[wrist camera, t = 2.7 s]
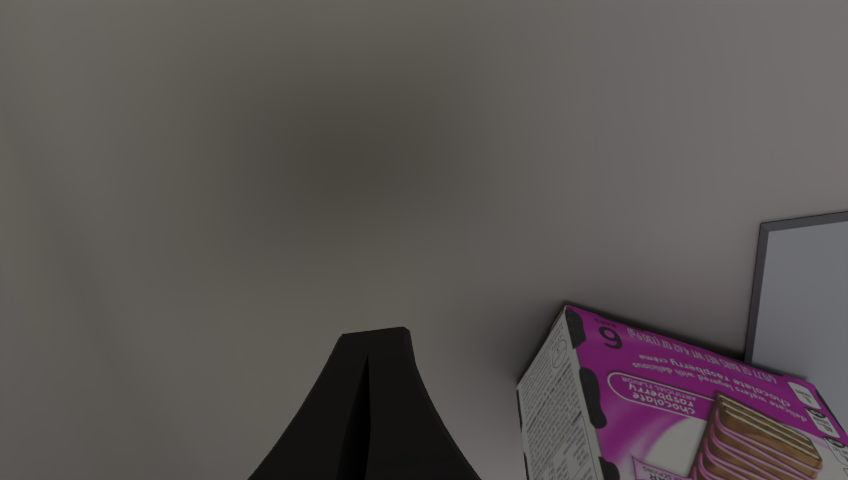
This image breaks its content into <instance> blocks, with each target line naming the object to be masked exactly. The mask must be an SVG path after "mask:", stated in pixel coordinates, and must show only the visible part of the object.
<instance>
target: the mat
mask: <svg viewBox="0 0 848 480" xmlns="http://www.w3.org/2000/svg"><path fill="white" fill-rule="evenodd" d="M744 362H746V363H749V364H752V365H755V366H759V367H762V368H765V369H768V370H771V371H774V372H777V373H780V374H784V375H787V376H790V377H793V378H796V379H800V380H803V381H806V382H809V383H812V384H813V385H815V387H816V389H817V390H818V392H819V393H820V395H821V396H822V398H823V399H824V401H825V402H826V404H827V405H828V407H829V408H830V410H831V411H832V413H833V414H834V415H835V417H836V419H837V420H838V422H839V423H840V425H841V426H842V428H843V429H844V431H845V432H846V434H847V435H848V212H843V213H836V214H829V215H821V216H814V217H807V218H799V219H792V220H785V221H777V222H770V223H763V224H761V229H760V237H759V245H758V253H757V261H756V269H755V277H754V285H753V293H752V301H751V309H750V317H749V326H748V334H747V342H746V350H745V358H744Z"/></svg>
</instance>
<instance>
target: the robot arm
mask: <svg viewBox="0 0 848 480" xmlns="http://www.w3.org/2000/svg"><path fill="white" fill-rule="evenodd" d="M248 480H481V479H480V477H479V476H478V475H477V473H476V472H475V471H474V469H473V468H472V466H471V465H470V464H469V462H468V461H467V460H466V458H465V457H464V455H463V454H462V452H461V451H460V449H459V448H458V446H457V445H456V443H455V442H454V440H453V439H452V437H451V435H450V434H449V432H448V430H447V429H446V427H445V425H444V423H443V422H442V420H441V418H440V416H439V414H438V413H437V411H436V409H435V407H434V405H433V403H432V401H431V399H430V397H429V395H428V393H427V390H426V388H425V386H424V384H423V381H422V379H421V377H420V374H419V372H418V369H417V366H416V363H415V357H414V352H413V346H412V341H411V335H410V331H409V330H408V329H406V328H405V327H395V328H387V329H379V330H371V331H363V332H355V333H347V334H342V336H341V337H340V338H339V339H338V341H337V343H336V345H335V347H334V349H333V351H332V353H331V355H330V357H329V359H328V361H327V363H326V365H325V366H324V368H323V370H322V372H321V374H320V375H319V377H318V379H317V381H316V383H315V384H314V386H313V388H312V389H311V391H310V393H309V394H308V396H307V398H306V399H305V401H304V403H303V404H302V406H301V408H300V409H299V411H298V412H297V414H296V415H295V417H294V418H293V420H292V421H291V423H290V424H289V426H288V427H287V428H286V430H285V431H284V433H283V434H282V436H281V437H280V439H279V440H278V442H277V443H276V444H275V446H274V447H273V448H272V450H271V451H270V452H269V454H268V455H267V456H266V458H265V459H264V460H263V461H262V463H261V464H260V465H259V466H258V468H257V469H256V470H255V471H254V473H253V474H252V475H251V476H250V477H249V479H248Z"/></svg>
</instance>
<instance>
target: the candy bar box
mask: <svg viewBox="0 0 848 480" xmlns="http://www.w3.org/2000/svg"><path fill="white" fill-rule="evenodd" d="M516 392H517V402H518V410H519V418H520V427H521V433H522V443H523V452H524V460H525V468H526V476H527V480H848V435H847V434H846V432H845V431H844V429H843V428H842V426H841V425H840V423H839V422H838V420H837V419H836V417H835V415H834V414H833V413H832V411H831V410H830V408H829V407H828V405H827V404H826V402H825V401H824V399H823V398H822V396H821V395H820V393H819V392H818V390H817V389H816V387H815V385H813V384H812V383H809V382H806V381H803V380H800V379H796V378H793V377H790V376H787V375H784V374H780V373H777V372H774V371H771V370H768V369H765V368H762V367H759V366H755V365H752V364H749V363H746V362H743V361H739V360H736V359H733V358H730V357H727V356H724V355H720V354H717V353H714V352H711V351H708V350H705V349H702V348H699V347H696V346H693V345H690V344H687V343H684V342H681V341H678V340H674V339H671V338H668V337H665V336H662V335H659V334H655V333H652V332H649V331H646V330H644V329H640V328H637V327H634V326H631V325H628V324H625V323H622V322H619V321H616V320H613V319H610V318H607V317H604V316H601V315H598V314H594V313H591V312H588V311H585V310H582V309H579V308H576V307H573V306H571V305H566V306H565V307H564V308H563V310H562V311H561V313H560V314H559V316H558V317H557V319H556V320H555V322H554V324H553V326H552V328H551V330H550V332H549V334H548V336H547V338H546V340H545V342H544V344H543V345H542V347H541V349H540V350H539V352H538V353H537V355H536V356H535V358H534V359H533V361H532V362H531V364H530V366H529V367H528V369H527V370H526V372H525V374H524V376H523V378H522V379H521V381H520V383H519V384H518V386H517V388H516Z"/></svg>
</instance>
